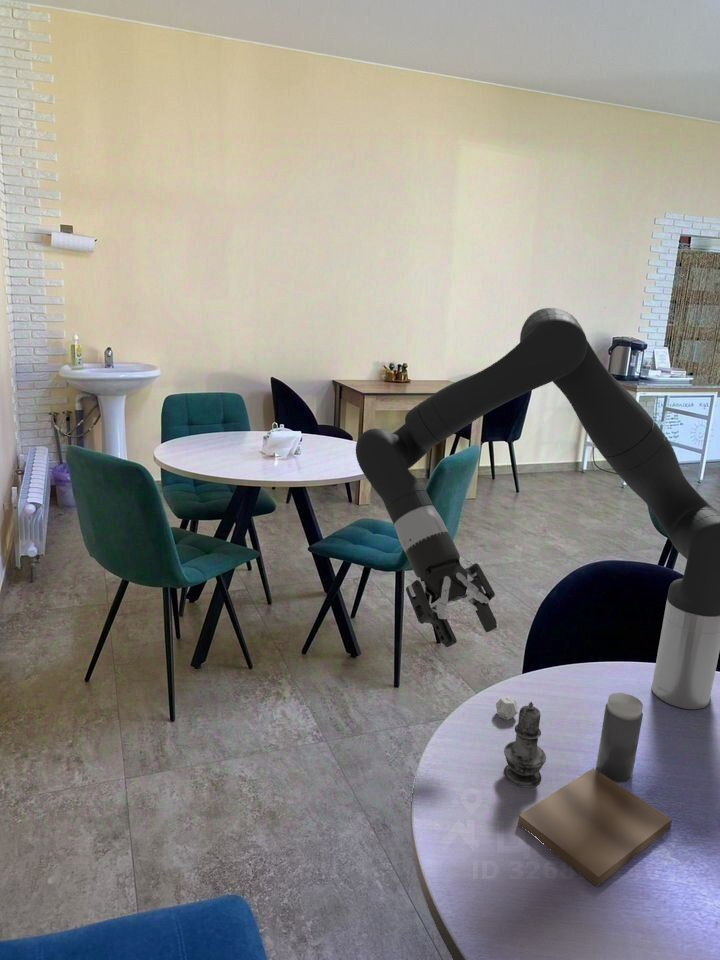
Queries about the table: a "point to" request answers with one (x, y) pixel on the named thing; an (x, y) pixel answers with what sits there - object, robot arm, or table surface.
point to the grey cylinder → (619, 737)
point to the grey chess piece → (525, 750)
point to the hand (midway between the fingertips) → (472, 637)
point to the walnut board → (595, 825)
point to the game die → (507, 707)
